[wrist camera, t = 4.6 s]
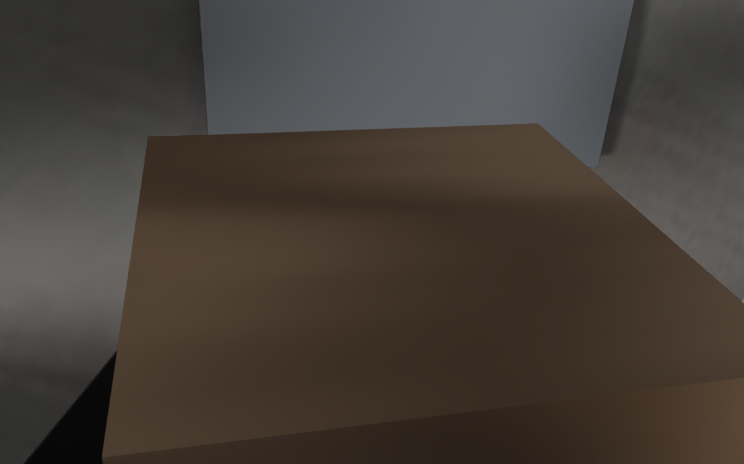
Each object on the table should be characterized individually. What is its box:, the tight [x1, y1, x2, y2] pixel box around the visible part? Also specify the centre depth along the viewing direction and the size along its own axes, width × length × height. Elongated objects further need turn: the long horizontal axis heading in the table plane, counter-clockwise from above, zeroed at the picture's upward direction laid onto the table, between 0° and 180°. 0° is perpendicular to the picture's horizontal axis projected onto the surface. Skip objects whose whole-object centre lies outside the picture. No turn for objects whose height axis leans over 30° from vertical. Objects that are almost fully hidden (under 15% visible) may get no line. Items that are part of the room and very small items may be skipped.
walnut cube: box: [102, 123, 744, 464], centre depth 8 cm, size 5×5×5 cm
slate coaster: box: [199, 0, 634, 168], centre depth 19 cm, size 12×10×1 cm
